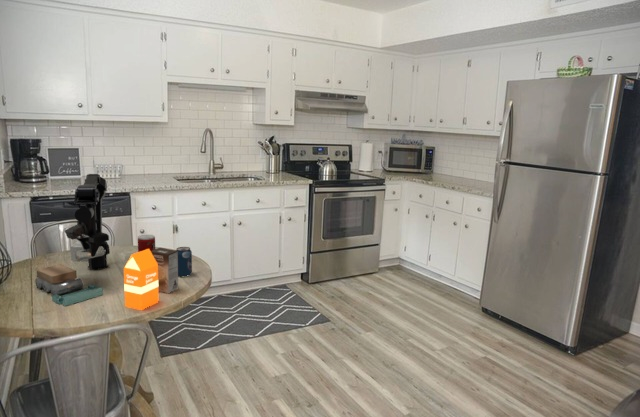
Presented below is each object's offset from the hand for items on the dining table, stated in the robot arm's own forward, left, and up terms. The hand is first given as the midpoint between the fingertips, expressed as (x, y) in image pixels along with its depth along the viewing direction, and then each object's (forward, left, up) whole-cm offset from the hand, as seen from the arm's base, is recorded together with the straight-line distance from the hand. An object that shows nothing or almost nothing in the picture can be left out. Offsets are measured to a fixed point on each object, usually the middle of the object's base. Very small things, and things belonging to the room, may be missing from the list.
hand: (90, 255), depth 176 cm
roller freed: (0, 0, -1) cm, 1 cm away
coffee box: (-14, +28, -12) cm, 34 cm away
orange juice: (0, +34, -12) cm, 36 cm away
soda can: (-30, +20, -12) cm, 38 cm away
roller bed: (+11, +2, -11) cm, 16 cm away
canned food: (-34, -12, -12) cm, 38 cm away
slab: (+11, -4, -7) cm, 14 cm away
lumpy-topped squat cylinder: (-16, -33, -12) cm, 38 cm away
